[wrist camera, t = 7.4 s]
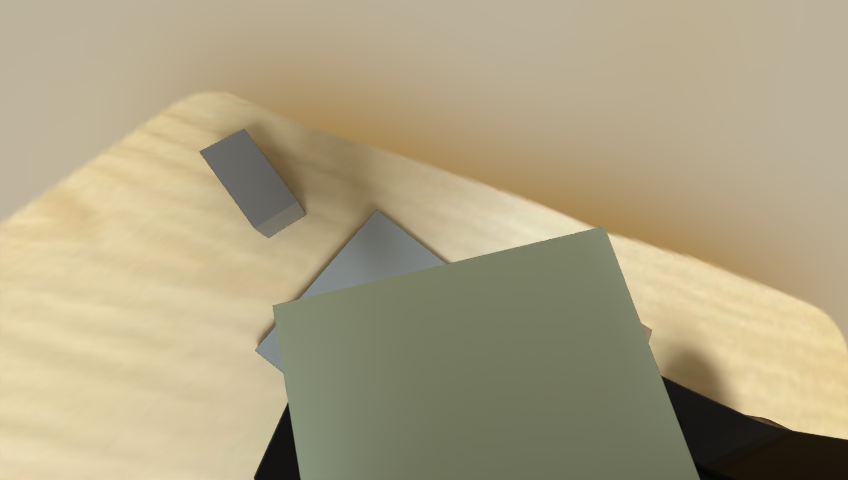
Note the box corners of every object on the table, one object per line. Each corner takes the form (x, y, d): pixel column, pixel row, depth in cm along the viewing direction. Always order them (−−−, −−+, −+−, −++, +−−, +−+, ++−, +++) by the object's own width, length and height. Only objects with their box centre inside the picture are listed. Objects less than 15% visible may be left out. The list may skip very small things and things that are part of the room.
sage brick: (455, 379, 15) (741, 587, 4) (365, 409, 14) (356, 830, 3) (433, 290, 16) (604, 226, 4) (345, 312, 15) (273, 304, 3)
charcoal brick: (306, 215, 23) (297, 201, 20) (269, 238, 22) (254, 227, 19) (259, 151, 23) (244, 128, 20) (220, 172, 22) (199, 151, 19)
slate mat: (523, 326, 23) (527, 327, 23) (430, 483, 20) (432, 488, 19) (376, 212, 23) (376, 209, 23) (257, 349, 20) (254, 350, 19)
